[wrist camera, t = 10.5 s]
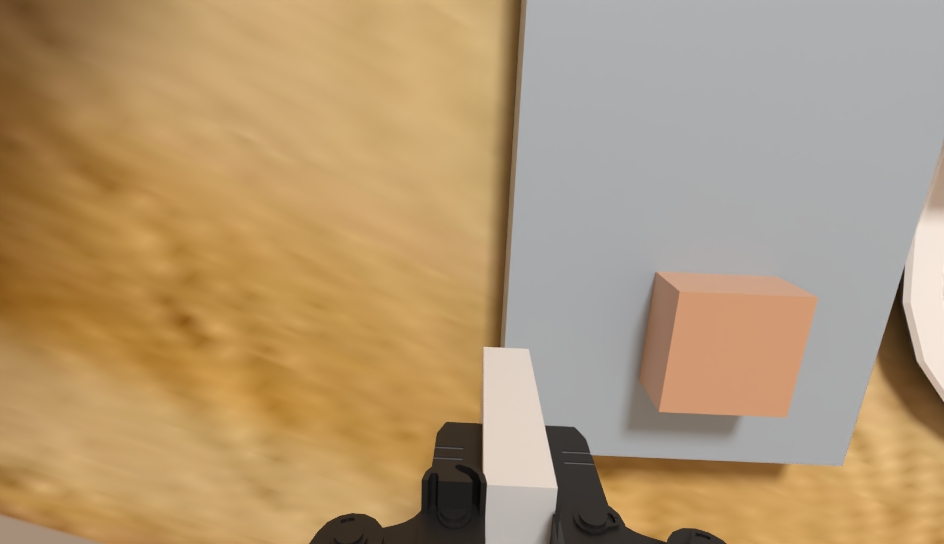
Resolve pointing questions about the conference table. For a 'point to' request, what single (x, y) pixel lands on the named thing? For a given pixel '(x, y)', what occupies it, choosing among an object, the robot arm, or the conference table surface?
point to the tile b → (725, 343)
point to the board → (714, 197)
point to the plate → (927, 284)
